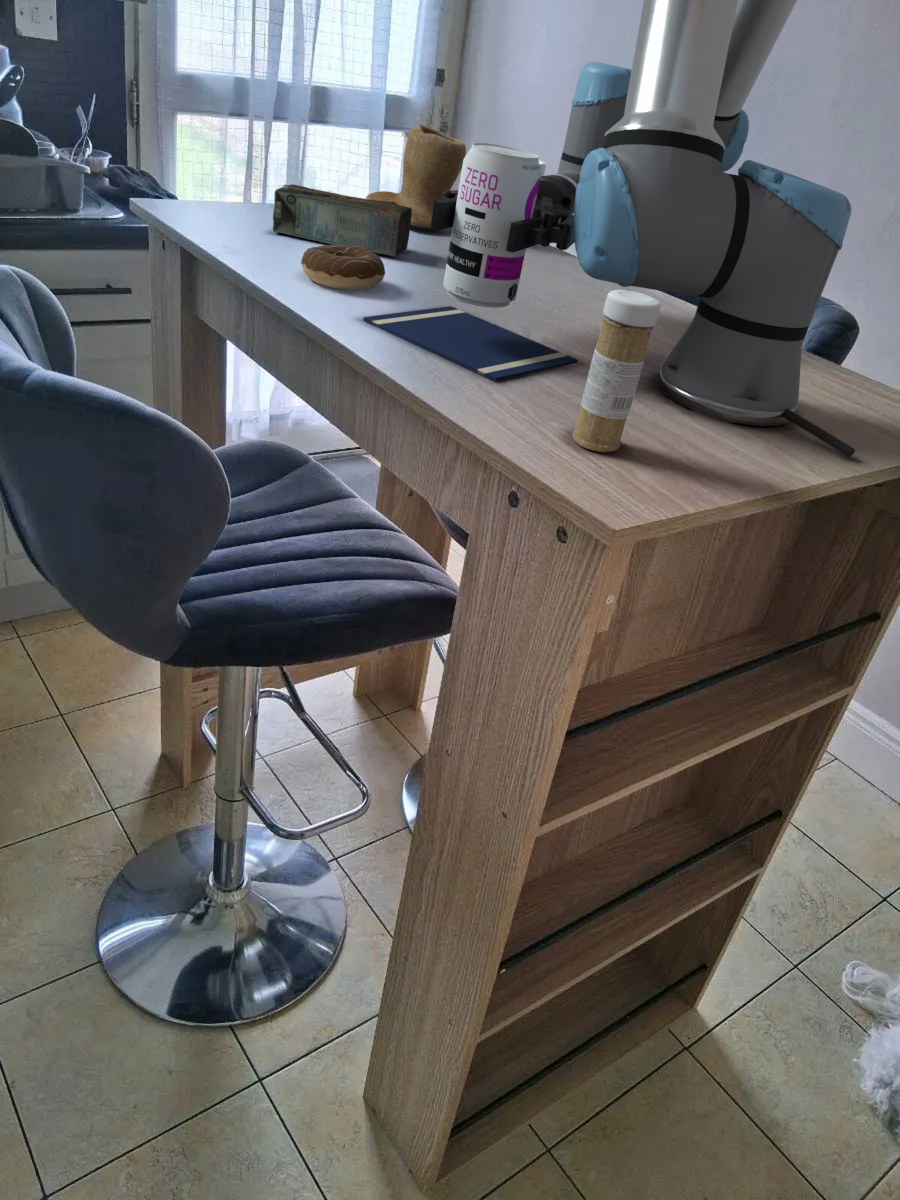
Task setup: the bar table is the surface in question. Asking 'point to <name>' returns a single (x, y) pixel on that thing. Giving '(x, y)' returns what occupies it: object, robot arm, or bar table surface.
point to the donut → (343, 267)
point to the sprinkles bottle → (615, 369)
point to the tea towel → (472, 342)
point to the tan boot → (426, 172)
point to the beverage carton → (342, 219)
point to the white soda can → (490, 224)
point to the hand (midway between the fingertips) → (473, 226)
